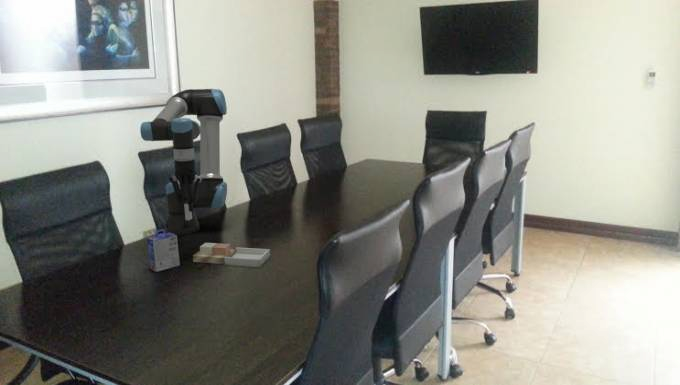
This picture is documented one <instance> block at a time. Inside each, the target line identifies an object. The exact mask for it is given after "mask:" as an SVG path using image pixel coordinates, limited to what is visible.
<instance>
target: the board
mask: <svg viewBox="0 0 680 385" xmlns="http://www.w3.org/2000/svg"><path fill="white" fill-rule="evenodd" d="M235 254H236V249H234V248H233V249H232V248H231V252H229V253H228V254H227V255H226V256H224V255H214V254H213V255H208V254H200V250H199V251H197V252H195V254H193V255H192V261H193V262H192V263H203V264H204V263H205V264H219V265H225V257H232V256H234V255H235Z"/></svg>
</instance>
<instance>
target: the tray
mask: <svg viewBox="0 0 680 385" xmlns="http://www.w3.org/2000/svg"><path fill="white" fill-rule="evenodd" d="M270 258H271V249H270V248H269V249H267V248H254V247H253V248H250V247H239V246H237V247H235V255H234V256H232V257H225V264H224V266H233V267H234V266H235V267H246V268H248V267H249V268H261V267H262V266H263V265H264V264H265V263H266V262H267V261H268V260H269V259H270Z"/></svg>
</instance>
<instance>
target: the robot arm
mask: <svg viewBox="0 0 680 385" xmlns="http://www.w3.org/2000/svg"><path fill="white" fill-rule="evenodd" d="M225 115H227V102H226V97H225V95H224V93H223V91H222V90H221V89H218V88H217V89H216V88H202V89H201V88H200V89H199V88H197V89H195V88H194V89H193V88H192V89H191V88H189V89H183V90H181V91H179V92H177V93H175V94H173V95H171V97H169V98H168V100H166V103H165V106H164V108H163V109H162V110H161V111H160V112H159V113H158V114H157V116H156V117H155V118H154V119H153V120H152V121H149V120H148V121H144V122H142V123H141V125H140V131H139V132H140V138H142V140H143V141H145V142H167V141H169V142H170V141H171V142H172V150H173V159H174V161H173V162H174V169H175V170H174V171H175V172H174V175H172V176H171V177H169V179H168V180H169V181H170V182H168V183H167V184H166V186H165V197H166V206H167V207H166V208H167V218H166V222H165V226H164V230H165V232H166V234H167V233H173V234H175V235H177V236H181V235H183V236H184V235H188V234H189V235H190V234H193V233H196V232H198V231H199V230H200V223H199V221H198V218H197V216H196V213H195V209H216V208H217V209H218V208H222V207H224V205H225V203H226V200H227V195H228V184H227V182H225V181H224V177H223V176H221V171H220V170H221V169H220V167H221V166H220V164H221V161H220V159H221V158H220V155H221V153H220V151H221V149H220V147H221V145H220V144H221V143H220V142H221V141H220V138H221V137H220V136H221V135H220V131H221V130H220V125H221V124H220V123H221V122H222V121H223V119H224V116H225ZM185 116H196V119H197V120H198V121H199V123H198V122H197V121H195V120H192V119H191V118H187V117H185ZM199 136H200V137H199ZM198 137H199V140H200V141H199V142H200V144H199V145H200V149H199V152H200V154H199V155H200V157H199V158H200V160H199V161H200V171H199V172H200V175H197V172H196V162H195V161H196V160H195V158H196V157H195V147H194V141H195V140H196V139H197V138H198Z"/></svg>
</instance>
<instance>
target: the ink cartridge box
mask: <svg viewBox="0 0 680 385" xmlns="http://www.w3.org/2000/svg"><path fill="white" fill-rule="evenodd" d="M154 231H155V236H151V237H148V238H146V240H147V248H148V249H147V250H148V255H149V256H148V258H149V266H150V269H151V270H152V271H153V272H155V273H157V272H161V271H164V270H169V269H172V268H176V267H179V266H180V255H179V245H178V244H179V243H178V235H175V234H173V233H166V232H165V228H162V229H161V228H160V229H156V230H154ZM159 232H160V233H159ZM161 232H162V233H161Z"/></svg>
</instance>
